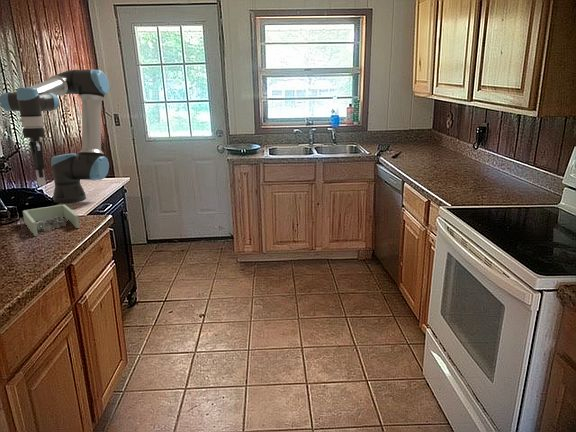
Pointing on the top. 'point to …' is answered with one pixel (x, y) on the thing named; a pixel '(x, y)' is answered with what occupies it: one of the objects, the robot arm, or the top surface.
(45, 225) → the egg carton
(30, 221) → the u-shaped frame
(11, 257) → the top surface
